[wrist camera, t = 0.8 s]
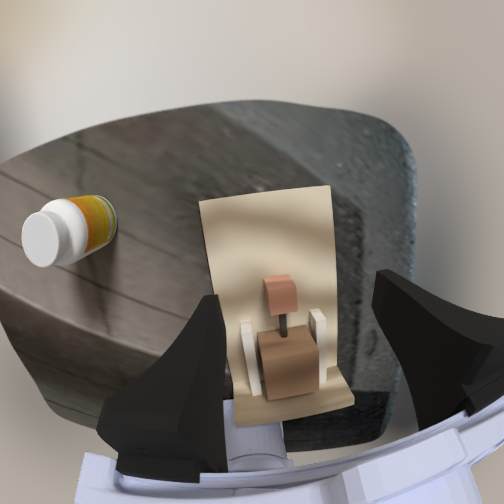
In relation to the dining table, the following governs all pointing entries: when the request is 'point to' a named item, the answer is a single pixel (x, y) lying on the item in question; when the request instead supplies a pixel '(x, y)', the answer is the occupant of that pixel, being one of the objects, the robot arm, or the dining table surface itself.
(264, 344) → the walnut block
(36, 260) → the supplement bottle
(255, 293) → the shelf lane
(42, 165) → the dining table surface
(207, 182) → the dining table surface
